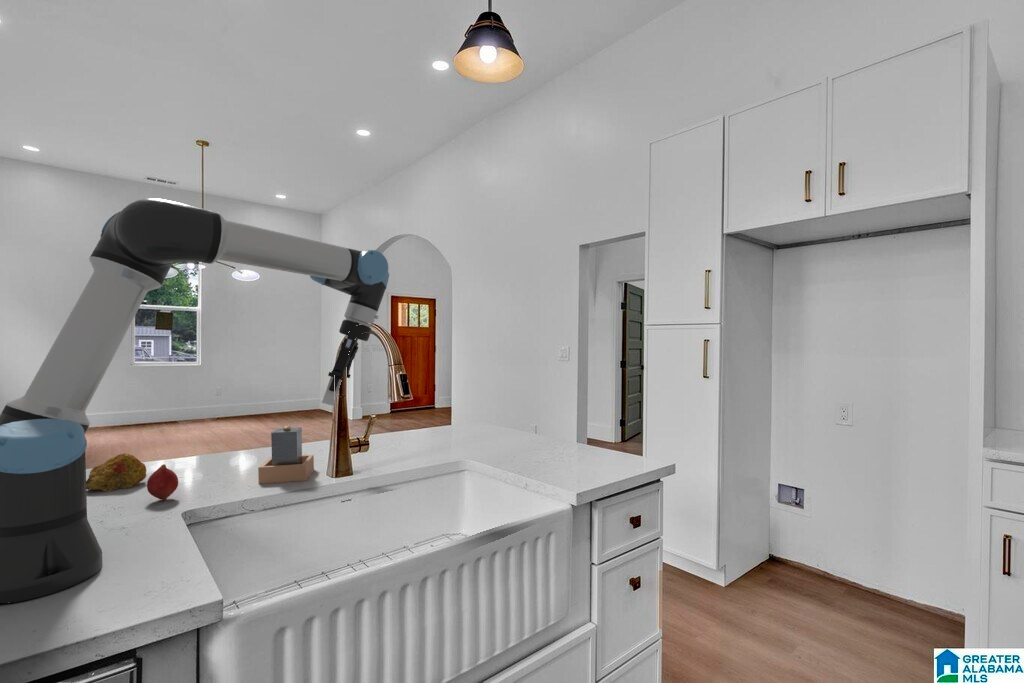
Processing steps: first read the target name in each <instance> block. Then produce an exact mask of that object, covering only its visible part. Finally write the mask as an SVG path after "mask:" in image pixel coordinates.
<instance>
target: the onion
mask: <svg viewBox="0 0 1024 683" xmlns="http://www.w3.org/2000/svg"><path fill="white" fill-rule="evenodd" d="M178 486H179V477H178V476H177V474H176V472H174V471H173V470H172V469H169V468H167V466H166V464H165V463H163V464H161V465H160V467H158V468H157V469H156V470H155V471H153V472H152V473H151V475H150V476H149V477H148V479H147V481H146V488H147V492H148V493H149V495H151V496H153V497H154V498H157V499H159V500H160V501H165V500H167V499H168V498H169V497H170V496H171V495H173V493H174V492H175V491H176V490H177V488H178Z"/></svg>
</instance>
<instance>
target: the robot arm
mask: <svg viewBox="0 0 1024 683" xmlns="http://www.w3.org/2000/svg"><path fill="white" fill-rule="evenodd" d="M88 259H89V262H90V265H91V267H92V269H93V272H92V275H91V276H90V278H89V280H88V281H87V283H86V284H85V287H84V289H83V290H82V293H80V295H79V298H78V299H77V301H76V303H75V305H74V306H73V307H72V310H71V312H70V314H69V315H68V317H67V319H66V321H65V322H64V325H62V328H61V329H60V331H59V333H58V335H57V337H56V338H55V340H54V342H53V343H52V346H51V348H50V349H49V351H48V352H47V354H46V356H45V358H44V359H43V362H42V364H41V365H40V366H39V368H38V371H37V372H36V374H35V376H34V378H33V380H32V381H31V383H30V385H29V386H28V389H27V390H26V391H25V394H24V395H23V396H21V397H19V398H16V399H15V400H11V401H9V402H7V403H6V404H5V406H4V408H3V409H2V411H1V413H0V603H7V604H9V603H8V602H13V603H17V602H18V603H19V602H24V601H27V600H33V599H36V598H40V597H45V596H48V595H50V594H54V593H57V592H60V591H63V590H65V589H68V588H71V587H73V586H76V585H78V584H79V583H82V582H84V581H86V580H88V579H90V578H91V577H93V576H94V575H96V574H97V573H98V572H100V570H101V568H102V567H103V551H102V548H101V546H100V544H99V543H100V542H99V541H98V540H97V537H96V535H95V533H94V531H93V528H92V527H91V524H90V522H89V520H88V508H87V507H88V505H87V504H88V502H87V501H88V500H87V489H86V481H87V467H86V466H87V463H86V462H87V460H86V450H87V446H88V441H87V437H86V436H85V435H86V432H87V430H88V429H89V427H90V425H91V422H90V420H89V418H88V416H87V414H86V411H87V409H88V406H89V404H90V403H91V401H92V399H93V397H94V395H95V393H96V391H97V389H98V387H99V385H100V384H101V381H102V380H103V378H104V376H105V374H106V372H107V370H108V368H109V366H110V364H111V362H112V360H113V358H114V357H115V354H116V353H117V351H118V349H119V347H120V345H121V343H122V342H123V340H124V338H125V336H126V334H127V333H128V330H129V328H130V326H131V324H132V323H133V320H134V318H135V317H136V314H137V313H138V310H139V309H140V307H141V305H142V303H143V301H144V300H145V297H146V295H147V294H148V292H150V291H153V290H156V289H161V287H162V285H163V283H164V281H165V279H166V277H167V276H168V273H169V271H170V270H171V268H172V266H173V264H174V263H178V262H179V263H183V262H194V263H195V262H196V263H197V262H198V263H202V264H203V263H204V264H207V265H211V264H214V263H215V262H218V261H224V262H230V263H235V264H236V263H237V264H240V265H241V264H242V265H247V266H253V267H259V268H265V269H271V270H276V271H281V272H288V273H293V274H299V275H305V276H309V278H310V279H311V280H312V281H314V282H316V283H318V284H320V285H321V286H325V287H329V289H334V290H336V291H338V292H341V293H344V294H346V295H348V296H350V299H349V301H348V304H347V306H346V310H345V313H344V316H343V317H344V318H345V319H344V318H343V320H342V322H341V325H340V328H339V330H338V331H339V333H340V334H342V335H344V336H347V337H346V338H344V339H343V341H342V342H341V345H340V349H339V351H338V356H337V359H336V361H335V363H334V366H333V369H332V370H331V371H328V374H327V376H328V377H330V378H329V381H328V384H327V387H326V390H325V393H324V395H323V398H322V401H321V403H322V404H325V405H328V406H333V407H334V405H335V403H334V375H335V402H337V401H336V397H337V394H338V391H339V388H340V385H341V382H342V380H341V379H342V378H343V375H344V372H345V370H346V367H347V377H346V378H347V379H350V378H351V374H350V370H351V366H352V364H353V360H354V359H355V357H356V355H357V352H358V351H359V342H358V340H361V341H364V342H367V341H369V338H370V335H371V333H364V332H372V328H371V326H366V325H372V326H374V324H375V320H378V319H379V315H378V311H379V309H380V307H381V306H380V305H381V303H382V299H383V297H384V295H385V292H386V290H387V287H388V283H389V279H390V272H389V262H388V260H387V258H386V256H385V255H384V254H383V253H382V252H380V251H378V250H374V249H364V250H358V249H354V248H353V249H352V248H347V247H343V246H340V245H335V244H330V243H327V242H322V241H318V240H314V239H308V238H305V237H301V236H296V235H292V234H287V233H284V232H279V231H274V230H271V229H268V228H267V229H266V228H262V227H257V226H255V225H254V226H253V225H248V224H246V223H245V224H244V223H241V222H237V221H233V220H232V221H231V220H227V219H225V218H224V217H223V215H222V214H221V213H220V212H217V211H213V210H210V209H205V208H202V207H196V206H193V205H189V204H185V203H182V202H177V201H174V200H173V201H172V200H169V199H168V200H167V199H164V198H163V199H162V198H142V199H138V200H135V201H133V202H131V203H130V204H128V205H126V206H125V207H124V208H122V210H121V211H118V212H116V213H115V214H113V215H111V217H109V219H107V221H106V222H105V223H104V225H103V227H102V229H101V233H100V239H99V241H98V242H97V244H96V246H95V247H94V249H93V251H92V253H91V255H90V257H89V258H88ZM363 323H364V324H363ZM368 323H373V324H368ZM359 324H362V325H359ZM356 325H358V326H356ZM370 330H371V331H370ZM349 331H350V332H349ZM348 332H349V333H348ZM362 333H363V334H362ZM356 337H357V338H356ZM355 338H356V340H354V339H355ZM349 351H350V352H349ZM348 354H349V355H348Z"/></svg>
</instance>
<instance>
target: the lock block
mask: <svg viewBox="0 0 1024 683" xmlns="http://www.w3.org/2000/svg"><path fill="white" fill-rule="evenodd" d="M270 436H271V437H270V438H271V457H272V466H278V465H295V464H302V455H303V442H302V440H303V439H302V438H303V437H302V436H303V434H302V427H301V426H300V427H291V426H290V425H289V426H288V425H287V426H283V427H281V428H275V430H273V431H272V432H271V433H270Z"/></svg>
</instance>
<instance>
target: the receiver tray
mask: <svg viewBox="0 0 1024 683" xmlns="http://www.w3.org/2000/svg"><path fill="white" fill-rule="evenodd" d="M314 458H315V457H314V454H305V455H303V454H302V464H295V465H278V466H272V456H270V457H268V458H267V459H266V460H265V461H264V462H263V463H261V465H259V466H258V471H257V472H258V474H257V476H258V484H259V483H263V484H277V483H278V482H279V483H291V482H290V481H294V482H305V481H307V480H308V479H309V477H310V476H311V474H312V473H313V471H314V470H315V466H314V464H315V462H314V461H315V459H314ZM307 478H308V479H307ZM274 482H275V483H274Z"/></svg>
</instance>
